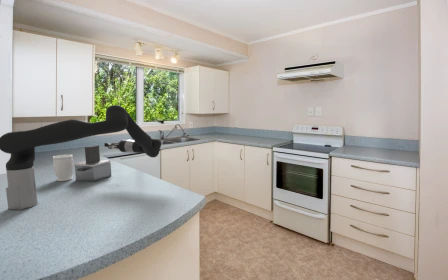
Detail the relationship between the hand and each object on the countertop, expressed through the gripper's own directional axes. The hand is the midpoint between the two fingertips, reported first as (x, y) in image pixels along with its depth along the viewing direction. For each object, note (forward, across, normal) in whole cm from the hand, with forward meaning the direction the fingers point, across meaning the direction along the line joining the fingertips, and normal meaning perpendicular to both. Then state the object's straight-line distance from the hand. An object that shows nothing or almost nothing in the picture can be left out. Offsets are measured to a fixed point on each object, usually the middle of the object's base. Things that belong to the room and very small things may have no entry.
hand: (105, 144), depth 145 cm
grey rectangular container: (+10, 0, -22) cm, 24 cm away
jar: (+25, -7, -22) cm, 34 cm away
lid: (+10, 0, -13) cm, 16 cm away
